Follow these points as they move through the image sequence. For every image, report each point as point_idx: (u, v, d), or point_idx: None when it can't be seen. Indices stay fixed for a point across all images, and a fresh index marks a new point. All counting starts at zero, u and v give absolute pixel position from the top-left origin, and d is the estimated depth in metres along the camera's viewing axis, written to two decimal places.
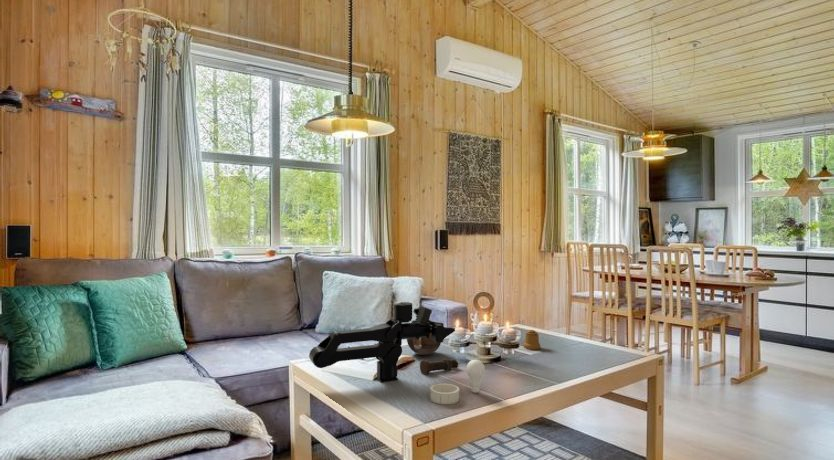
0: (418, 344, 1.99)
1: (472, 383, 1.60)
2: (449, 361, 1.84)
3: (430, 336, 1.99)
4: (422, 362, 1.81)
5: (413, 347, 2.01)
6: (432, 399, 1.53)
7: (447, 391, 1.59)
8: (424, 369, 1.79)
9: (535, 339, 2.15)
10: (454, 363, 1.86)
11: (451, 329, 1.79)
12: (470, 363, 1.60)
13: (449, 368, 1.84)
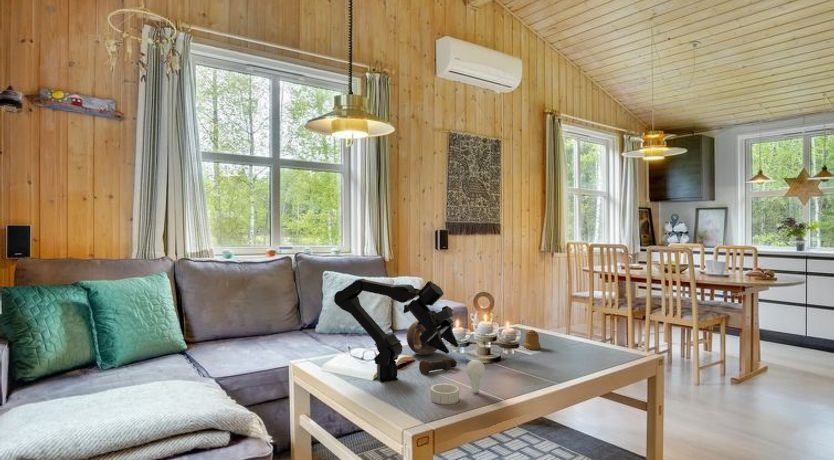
0: (418, 344, 1.99)
1: (472, 383, 1.60)
2: (448, 360, 1.85)
3: None
4: (421, 362, 1.81)
5: (413, 347, 2.01)
6: (432, 399, 1.53)
7: (447, 391, 1.59)
8: (424, 369, 1.79)
9: (535, 339, 2.15)
10: (453, 362, 1.86)
11: (444, 348, 1.60)
12: (470, 363, 1.60)
13: (448, 367, 1.84)
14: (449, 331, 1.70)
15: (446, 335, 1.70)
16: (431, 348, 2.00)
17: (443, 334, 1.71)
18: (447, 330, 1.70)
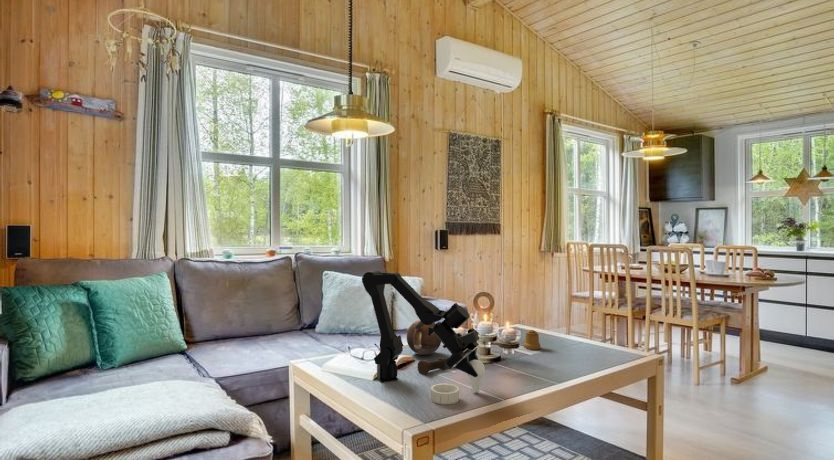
0: (418, 344, 1.99)
1: (472, 383, 1.60)
2: (445, 360, 1.86)
3: (430, 336, 1.99)
4: (420, 362, 1.81)
5: (413, 347, 2.01)
6: (432, 399, 1.53)
7: (447, 391, 1.59)
8: (424, 369, 1.79)
9: (535, 339, 2.15)
10: None
11: (473, 372, 1.57)
12: (470, 363, 1.60)
13: (445, 367, 1.85)
14: (473, 355, 1.65)
15: (470, 359, 1.65)
16: (431, 348, 2.00)
17: None
18: (471, 354, 1.65)
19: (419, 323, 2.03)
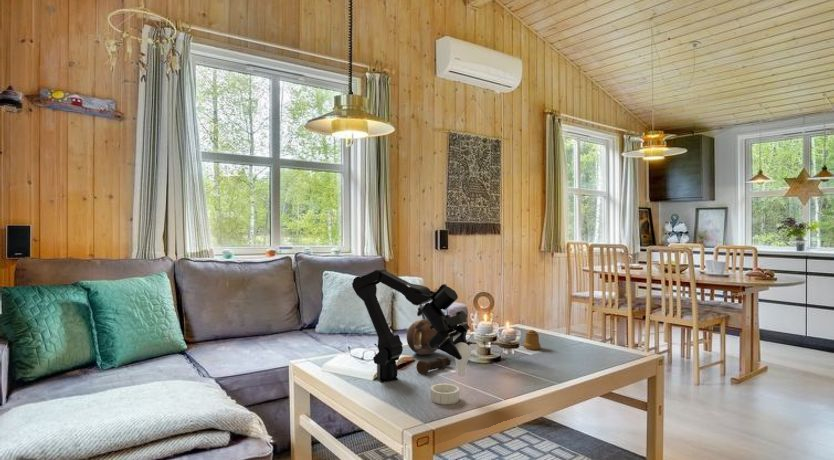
0: (418, 344, 1.99)
1: (457, 366, 1.57)
2: (443, 359, 1.87)
3: (430, 336, 1.99)
4: (420, 362, 1.81)
5: (413, 347, 2.01)
6: (432, 399, 1.53)
7: (447, 391, 1.59)
8: (423, 369, 1.79)
9: (535, 339, 2.15)
10: (447, 361, 1.88)
11: (457, 354, 1.54)
12: (456, 345, 1.57)
13: (444, 366, 1.86)
14: (462, 338, 1.61)
15: (459, 342, 1.62)
16: None
17: (455, 340, 1.63)
18: (460, 337, 1.62)
19: (419, 323, 2.03)
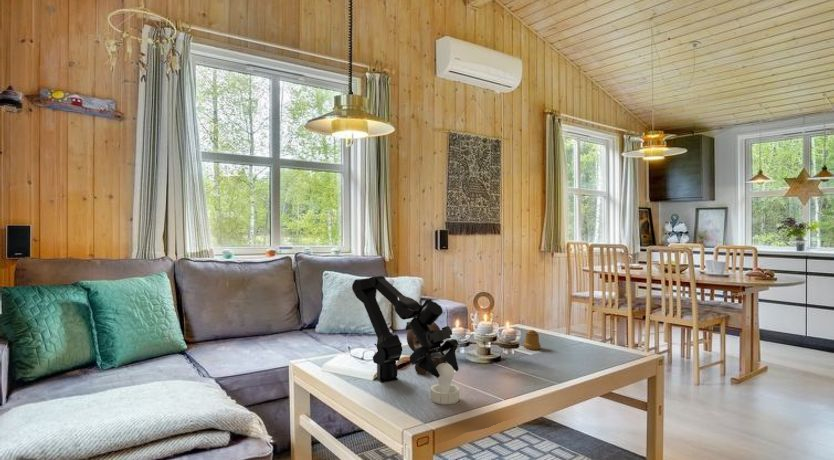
0: (418, 344, 1.99)
1: (440, 387, 1.55)
2: (440, 359, 1.87)
3: None
4: None
5: (413, 347, 2.01)
6: (432, 399, 1.53)
7: None
8: (423, 369, 1.79)
9: (535, 339, 2.15)
10: (443, 360, 1.89)
11: (434, 371, 1.51)
12: (438, 366, 1.55)
13: None
14: (451, 353, 1.60)
15: (448, 357, 1.61)
16: None
17: (445, 355, 1.62)
18: (449, 352, 1.60)
19: None
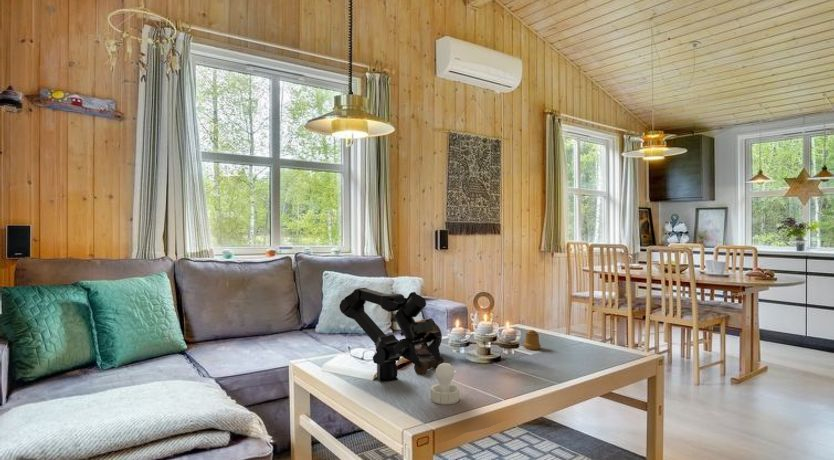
0: None
1: (440, 387, 1.55)
2: None
3: None
4: None
5: None
6: (432, 399, 1.53)
7: None
8: (422, 369, 1.79)
9: (535, 339, 2.15)
10: (441, 360, 1.90)
11: (417, 362, 1.56)
12: (438, 366, 1.55)
13: None
14: (434, 345, 1.65)
15: (431, 349, 1.66)
16: None
17: (429, 347, 1.67)
18: (432, 343, 1.66)
19: None
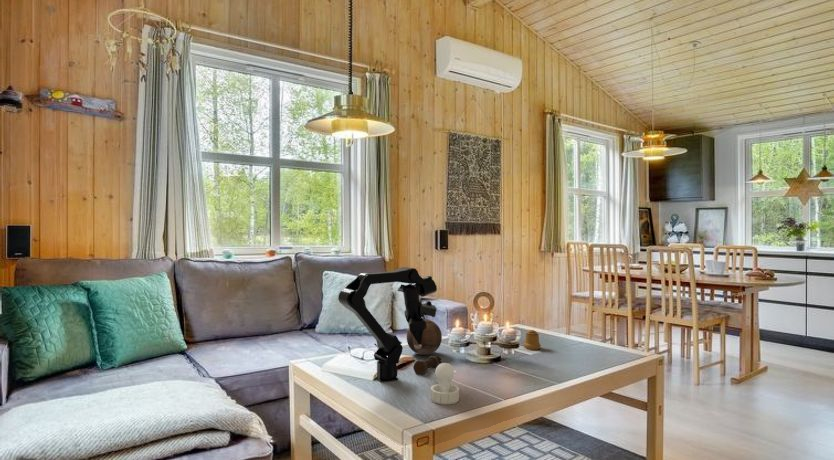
0: (418, 344, 1.99)
1: (440, 387, 1.55)
2: (436, 358, 1.88)
3: (430, 336, 1.99)
4: (418, 363, 1.80)
5: (413, 347, 2.01)
6: (432, 399, 1.53)
7: None
8: (422, 369, 1.79)
9: (535, 339, 2.15)
10: (439, 359, 1.90)
11: (420, 340, 1.78)
12: (438, 366, 1.55)
13: (437, 365, 1.88)
14: None
15: None
16: (431, 348, 2.00)
17: (410, 320, 1.87)
18: None
19: None
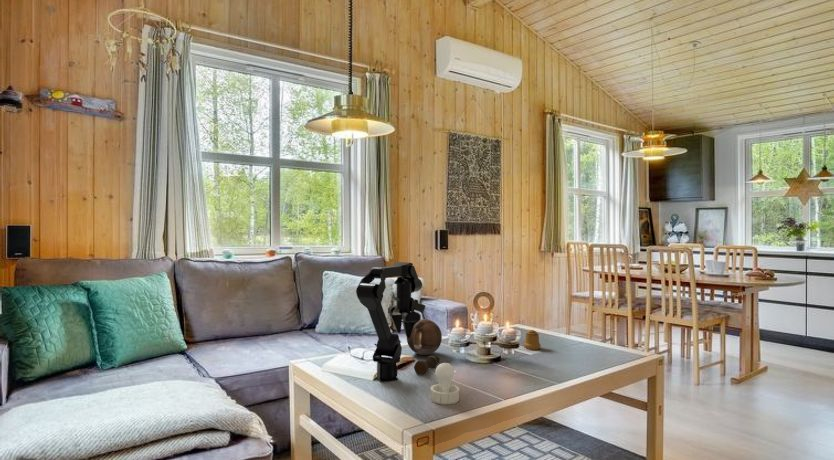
0: (418, 344, 1.99)
1: (440, 387, 1.55)
2: (435, 358, 1.88)
3: (430, 336, 1.99)
4: (419, 363, 1.80)
5: (413, 347, 2.01)
6: (432, 399, 1.53)
7: None
8: (423, 369, 1.79)
9: (535, 339, 2.15)
10: (437, 359, 1.91)
11: (410, 333, 1.81)
12: (438, 366, 1.55)
13: (436, 365, 1.88)
14: (401, 318, 1.91)
15: (397, 319, 1.90)
16: (431, 348, 2.00)
17: (395, 316, 1.90)
18: (400, 316, 1.91)
19: (419, 323, 2.03)
